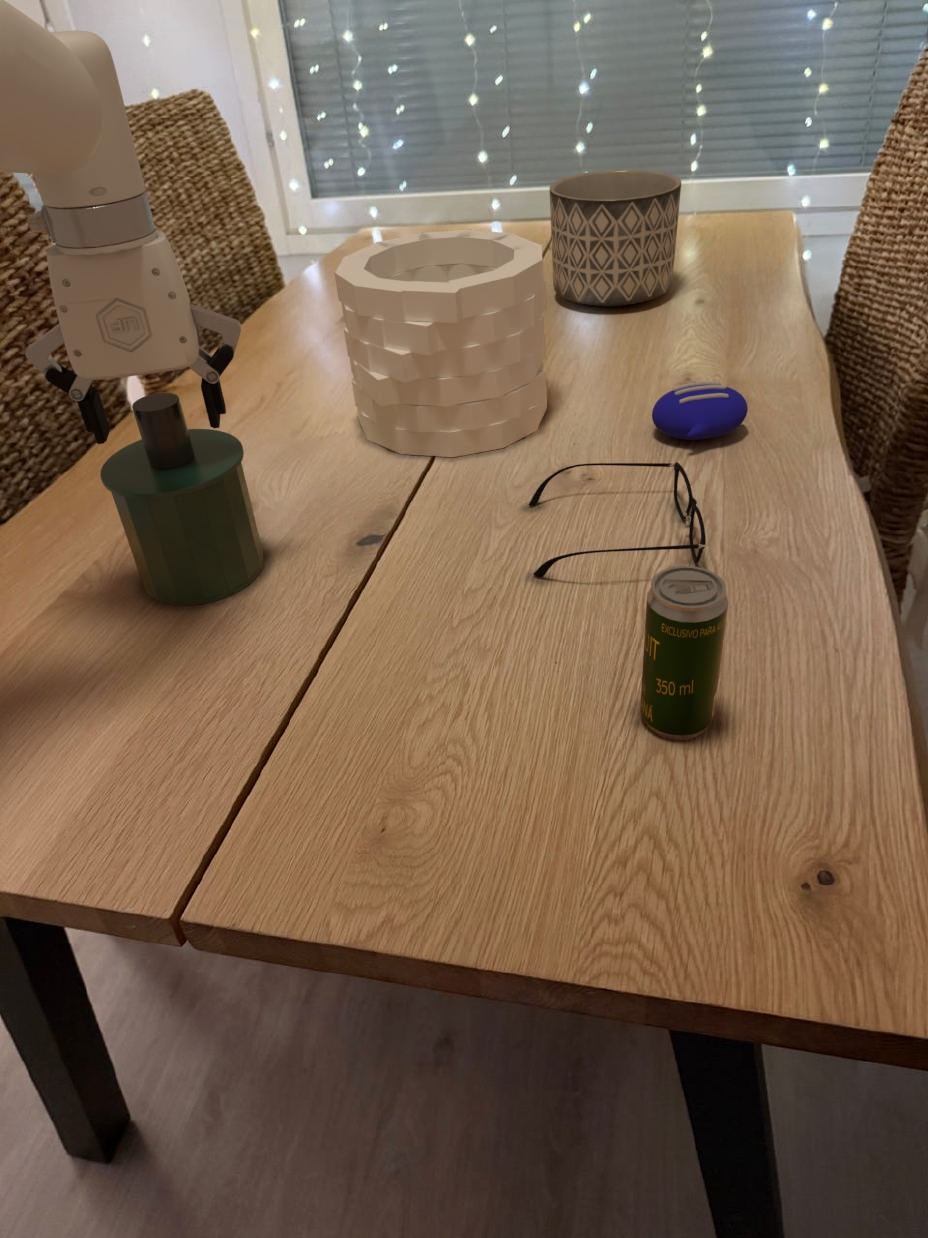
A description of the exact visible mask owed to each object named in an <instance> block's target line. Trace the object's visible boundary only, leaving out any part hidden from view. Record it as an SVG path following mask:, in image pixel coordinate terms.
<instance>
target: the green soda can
mask: <svg viewBox="0 0 928 1238" xmlns="http://www.w3.org/2000/svg"><path fill="white" fill-rule="evenodd" d="M728 597H729V596H728V595H727V586H726V583H725V582H724V580H723V579H722V577H720V576H719V575H718V574H716V573H715V572H714V571H712V570H709V569H707V568H704V567H699V566H694V565H679V566H671V567H668V568H665V569H662V570H661V571H659V572H658V573H656V574H655V575H654V576H653V578H652V579H651V582H650V588H649V589H648V591H647V593H646V607H645V622H644V623H645V624H644V639H643V655H642V672H641V687H640V688H641V689H640V705H639V707H640V711H639V713H640V715H641V717H642V719H643V721H644V723H645V725H646V726H647V728H649V730H650V731H651V732H653V733H654V734H656V735H657V736H659V737H662V738H664V739H668V740H674V741H675V740H676V741H685V740H686V741H687V740H692V739H694V738H696V737H699V736H700V735H702V734H703V733H704V732H705V731H706V730H707V729H708V728H709V727H710V725H712V722H713V721H714V717H715V710H716V703H717V695H718V688H719V679H720V672H721V663H722V657H723V647H724V641H725V632H726V623H727V615H728V609H729V608H728V607H729V598H728Z"/></svg>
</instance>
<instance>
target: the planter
mask: <svg viewBox="0 0 928 1238" xmlns="http://www.w3.org/2000/svg"><path fill="white" fill-rule="evenodd" d="M681 192H682V180H681V179H680V178H679V176H677V175H675V174H672V173H669V172H665V171H659V170H650V169H637V168H636V169H635V168H634V169H633V168H631V169H630V168H629V169H628V168H626V169H625V168H623V169H621V168H620V169H604V170H594V171H588V172H582V173H577V174H572V175H569V176H565V177H563V178H560V179H558V180H556V181H554V182H553V183H551V184H550V186H549V211H550V235H551V259H552V260H551V262H552V285H553V286H552V287H553V290H554V292H555V293H556V294H557V295H558V296H559V297H561V298H562V299H565V300H568V301H570V302H573V303H577V304H582V305H590V306H595V307H605V308H614V307H625V306H630V305H634V304H639V303H643V302H644V303H645V302H647V301H651V300H654V299H657V298H658V297H661V296H663V295H664V294H666V293H667V292H668V291H669V290H670V289H671V288H672V285H673V281H674V267H675V257H676V245H677V236H678V227H679V226H678V224H679V215H680V214H679V213H680V202H681Z"/></svg>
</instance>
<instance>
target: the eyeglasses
mask: <svg viewBox="0 0 928 1238" xmlns="http://www.w3.org/2000/svg"><path fill="white" fill-rule="evenodd" d="M587 466H588V467H589V466H590V467H591V466H616V467H617V466H618V467H619V466H622V467H628V466H629V467H654V468H655V467H657V468H673V471H674V475H673V477H674V478H673V479H674V480H673V499H674V502H675V507H676V509H677V512H678V514H679V516H680V518H681V519H682V520H686V521H685V525H686V526H689V531H688V532H689V533H688V539H689V544H681V545H679V544H678V545H664V546H663V545H662V546H647V547H646V546H645V547H630V548H616V549H615V548H613V549H612V548H611V549H598V550H586V551H577V552H570V553H566V554H563V555H558V556H555V557H551V558H550V559H548V560H546V561H545V562H543V563H542V565H540V566H539V567H538V568H537V569H536V570H535V572H533V576H534V577H538V578H543V577H545V575H546V574H547V573H548V571H549V569H551V568H552V566H553V565H555V563H557V562H559V561H560V560H563V559H566V558H570V557H574V556H575V557H576V556H580V555H586V554H595V553H596V554H597V553H611V552H614V553H615V552H636V551H664V550H690V552H691V555H692V558H693V561H694V563H699V562H700V560H701V557H702V555H703V551H704V549H706V547H707V544H706V543H707V538H706V530H705V529H706V528H705V524H704V523H705V522H704V520H703V516H702V512H701V511H700V508H699V507H698V505H697V504H698V501H697V500H696V498H695V497H694V496H693V491H692V487H691V484H690V480H689V477H688V475H687V473H686V471H685V469H684V467H683V466H682V465H681V464H680V463H679V462H677V461H676V462H674V463H673V462H671V463H669V462H668V463H667V462H610V463H609V462H607V463H606V462H596V463H578V464H574V465H570V466H567V467H563V468H561V469H559V470H557V471H555V472H553V474H551V475H550V476H548V477H547V478H545V479H544V480H543V482H542V483H541V484H540V485H539V486H538V488H537V489H536V490H535V492H534V494H533V495H532V497H531V499H530V501H529V503H528V506H529V507H533V506H536V505H537V504H538V503H539V502H540V498H541V496H542V494H543V492H544V490H545V488H546V486H547V485H548V484H549V482H550V481H551V480H552V479H554V478H555V477H556V476H557V475H559V474H561V473H563V472H565V471H568V470H570V469H574V468H577V467H587ZM680 473H681V475H682V477H683V480H684V483H685V486H686V489H687V494H688V502H687V506H686V507H685V508H684V509H683V511H682V509H681V506H680V502H679V499H678V482H679V475H680ZM695 514H696V516H697V519H698V524H699V529H700V541H699V544H697V543H696V544H695V543H694V521H695ZM689 515H690V516H689ZM688 518H689V519H688ZM697 549H698V550H697ZM696 550H697V554H696Z"/></svg>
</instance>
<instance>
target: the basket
mask: <svg viewBox="0 0 928 1238" xmlns="http://www.w3.org/2000/svg"><path fill="white" fill-rule="evenodd" d="M334 279H335V285H336V291H337V292H336V293H337V298H338V301H339V302H340V303H341V311H342V317H343V321H344V324H345V325H344V328H343V334H344V338H345V347H346V353H347V356H348V357H349V364H350V369H351V374H352V376H353V377H352V380H351V385H352V392H353V398H354V406H355V407H356V408H357V415H358V416H357V417H358V420H359V423H360V426H361V428H362V431H363V433H364V436H365V438H366V440H367V441H369V442H372V443H373V444H376V445H379V446H381V447H383V448H385V449H388V450H390V451H392V452H395V453H398V454H400V455H410V456H411V455H412V456H428V457H441V458H456V457H462V456H468V455H472V454H477V453H483V452H489V451H495V450H502V449H504V448H506V447H508V446H510V445H511V444H513V443H516V442H517V441H520V440H521V439H523V438H525V437H527V436H530V435H531V434H533V433H535V432H537V431H539V426H540V424H541V422H542V420H543V418H544V416H545V413H546V412H547V409H548V391H547V390H548V388H547V386H548V385H547V384H546V371H545V369H544V362H545V360H546V359H547V355H546V354H547V353H546V352H547V351H546V350H547V349H546V348H547V347H546V333H545V316H544V315H543V314H544V313H545V311H546V309H547V279H544V259H543V244H541V243H536V242H534V241H531V240H530V239H527V238H524V237H522V236H519V235H518V234H515V233H513V232H512V233H511V232H501V231H500V232H499V231H489V230H477V229H458V230H456V229H455V230H445V231H444V230H443V231H428V232H420V233H414V234H409V235H405V236H400V237H395V238H391V239H386V240H381V241H377V242H375V243H372V244H370V245H368V246H365V247H363V248H361V249H359V250H357V251H354V252H352V253H350V254H347V255H345V256H343V257H342V260H341V261H340V263H339V265H338V267H337V269H336V270H335V271H334Z"/></svg>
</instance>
